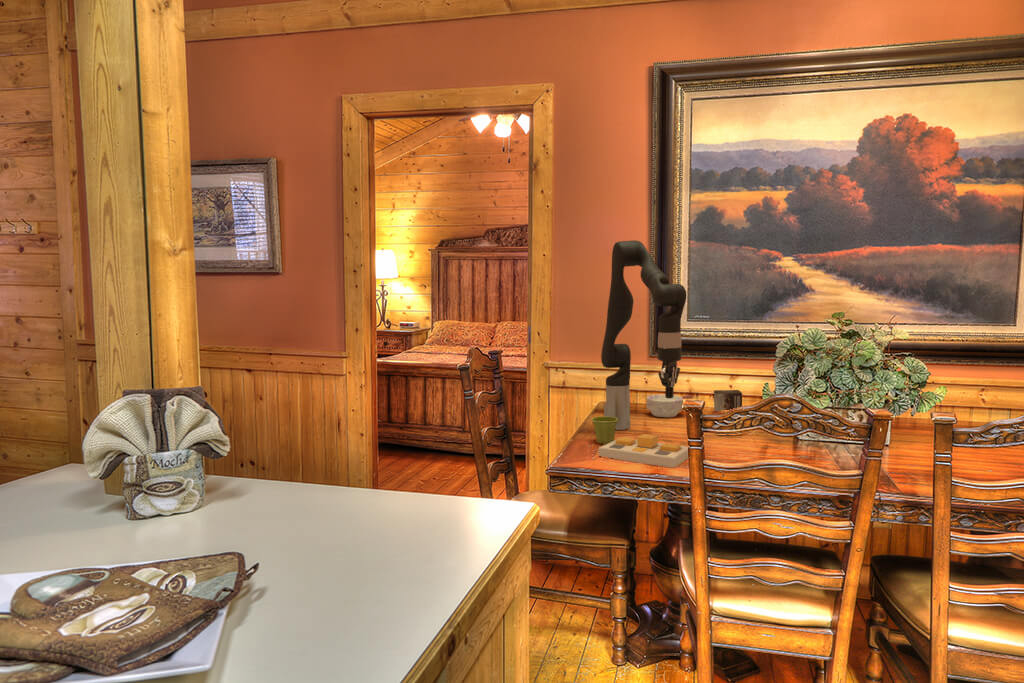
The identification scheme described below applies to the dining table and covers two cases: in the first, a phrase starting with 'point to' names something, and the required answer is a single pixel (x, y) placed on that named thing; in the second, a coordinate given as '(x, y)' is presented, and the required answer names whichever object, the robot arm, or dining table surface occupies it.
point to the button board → (644, 454)
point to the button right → (670, 447)
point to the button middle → (647, 440)
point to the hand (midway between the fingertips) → (669, 397)
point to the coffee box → (727, 401)
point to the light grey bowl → (664, 405)
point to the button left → (625, 441)
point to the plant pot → (604, 428)
